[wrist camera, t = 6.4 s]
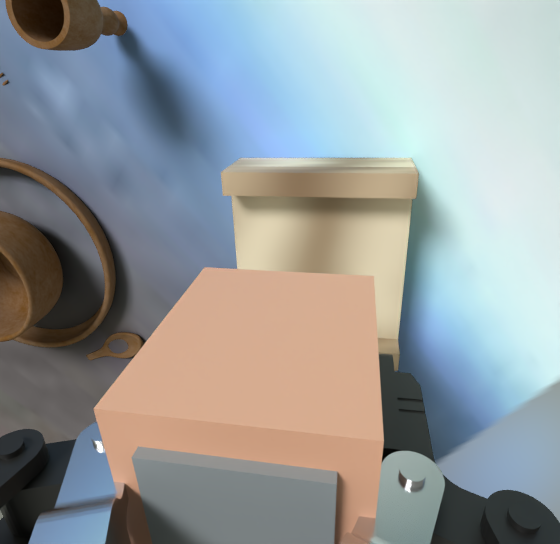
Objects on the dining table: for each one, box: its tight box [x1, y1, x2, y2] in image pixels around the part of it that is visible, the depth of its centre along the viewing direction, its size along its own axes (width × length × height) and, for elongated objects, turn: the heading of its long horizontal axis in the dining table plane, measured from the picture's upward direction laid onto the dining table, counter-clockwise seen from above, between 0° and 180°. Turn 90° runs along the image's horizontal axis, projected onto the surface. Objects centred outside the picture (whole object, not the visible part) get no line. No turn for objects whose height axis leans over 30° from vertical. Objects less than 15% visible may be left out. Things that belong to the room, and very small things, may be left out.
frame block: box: [94, 267, 384, 544], centre depth 11 cm, size 5×6×6 cm
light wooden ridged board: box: [221, 158, 419, 371], centre depth 22 cm, size 8×18×3 cm, turn 2°
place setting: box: [0, 0, 143, 360], centre depth 22 cm, size 18×20×6 cm
